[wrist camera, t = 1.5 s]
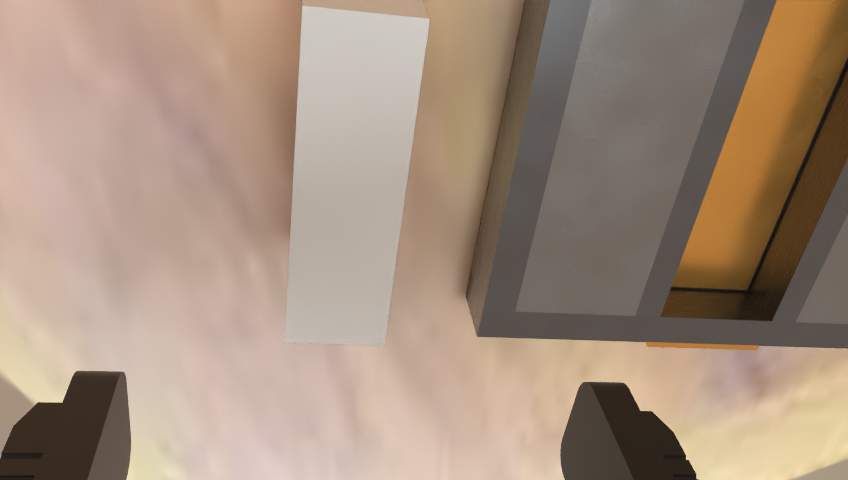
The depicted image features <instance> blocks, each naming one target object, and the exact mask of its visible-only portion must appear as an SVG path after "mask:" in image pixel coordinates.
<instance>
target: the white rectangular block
mask: <svg viewBox="0 0 848 480" xmlns="http://www.w3.org/2000/svg"><path fill="white" fill-rule="evenodd" d="M429 22H430V18H429V16H428V13H427V11H426V9H425V7H424V4H423V2H422V0H303V3H302V21H301V40H300V59H299V78H298V97H297V115H296V134H295V153H294V172H293V191H292V210H291V228H290V247H289V266H288V285H287V304H286V323H285V342H284V343H309V344H343V345H377V346H384V345H385V337H386V330H387V323H388V316H389V309H390V302H391V294H392V287H393V280H394V273H395V266H396V259H397V251H398V244H399V237H400V230H401V223H402V216H403V208H404V201H405V194H406V187H407V180H408V173H409V165H410V158H411V151H412V144H413V137H414V130H415V122H416V115H417V108H418V101H419V94H420V87H421V79H422V72H423V65H424V58H425V51H426V44H427V36H428V29H429Z"/></svg>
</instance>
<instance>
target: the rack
mask: <svg viewBox="0 0 848 480" xmlns="http://www.w3.org/2000/svg"><path fill="white" fill-rule="evenodd" d="M466 298H467V302H468V306H469V309H470V313H471V316H472V320H473V324H474V327H475V331H476V334H477V337H507V338H538V339H569V340H600V341H631V342H645V343H646V344H647V346H648V347H678V348H711V349H743V350H757V348H758V346H788V347H819V348H848V0H525V5H524V10H523V15H522V20H521V25H520V30H519V35H518V39H517V44H516V49H515V54H514V59H513V64H512V69H511V74H510V79H509V84H508V89H507V94H506V99H505V104H504V109H503V114H502V119H501V124H500V129H499V134H498V139H497V144H496V149H495V154H494V159H493V164H492V169H491V174H490V179H489V184H488V189H487V194H486V199H485V204H484V209H483V214H482V218H481V223H480V228H479V233H478V238H477V243H476V248H475V253H474V258H473V263H472V268H471V273H470V278H469V283H468V288H467V293H466Z"/></svg>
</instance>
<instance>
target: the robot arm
mask: <svg viewBox="0 0 848 480" xmlns="http://www.w3.org/2000/svg"><path fill="white" fill-rule="evenodd" d="M130 452H131V432H130V420H129V407H128V395H127V383H126V376H125V373H124V372H107V371H76V372H75V373H74V375H73V377H72V379H71V382H70V385H69V387H68V390H67V392H66V395H65V398H64V400H63V403H40V402H38V403H37V404H36V405H35V406H34V407H33V408H32V409H31V410H30V411H29V412H28V413H27V414H26V415H25V416H24V417H22V418H21V420H19V421H18V422H17V423H16V424H15V425H14V426H13V429H12V431H11V433H10V436H9V438H8V440H7V442H6V444H5V447H4V449H3V451H2V456H1V459H0V480H126V478H127V474H128V468H129V462H130ZM561 467H562V472H563V475H564V478H565V480H697V479H696V473H695V471H694V469H693V468H692V466H691V464H690V462H689V460H686V455H685V453H684V451H683V449H682V447H681V445H680V444H679V442H678V440H677V438H676V436H675V434H674V432H673V431H672V430H671V429H670V428H669V427H667V426H666V425H665V424H664V423H663V422H662V421H661V420H660V419H659V418H658V417H657V416H656V415H655V414H654V413H653V412H652V411H640V409H639V407H638V405H637V403H636V402H635V400H634V398H633V396H632V394H631V392H630V390H629V388H628V387H627V386H626V385H625V384H624V383H610V382H584V383H582V384H581V385H580V387H579V389H578V392H577V395H576V398H575V402H574V405H573V408H572V411H571V414H570V417H569V420H568V423H567V426H566V429H565V433H564V436H563V439H562V443H561Z"/></svg>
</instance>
